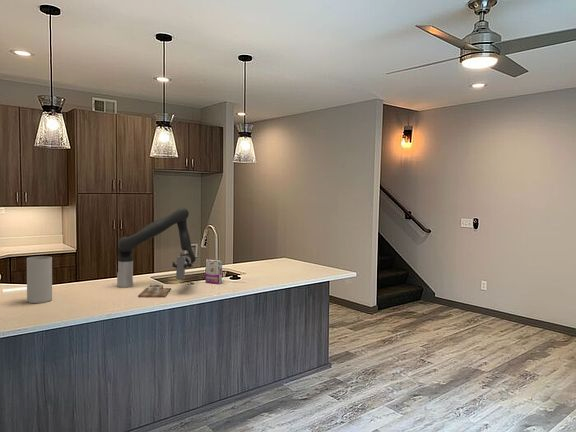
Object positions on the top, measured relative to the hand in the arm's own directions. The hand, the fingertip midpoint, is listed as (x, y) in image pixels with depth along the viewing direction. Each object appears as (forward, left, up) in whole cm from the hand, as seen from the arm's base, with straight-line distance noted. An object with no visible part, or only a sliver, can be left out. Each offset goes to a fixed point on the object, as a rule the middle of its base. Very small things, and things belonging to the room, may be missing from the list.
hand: (180, 266), depth 267 cm
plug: (0, +3, -8) cm, 8 cm away
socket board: (-16, +3, -18) cm, 24 cm away
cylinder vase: (-77, -16, -18) cm, 81 cm away
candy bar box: (+18, +35, -18) cm, 43 cm away
